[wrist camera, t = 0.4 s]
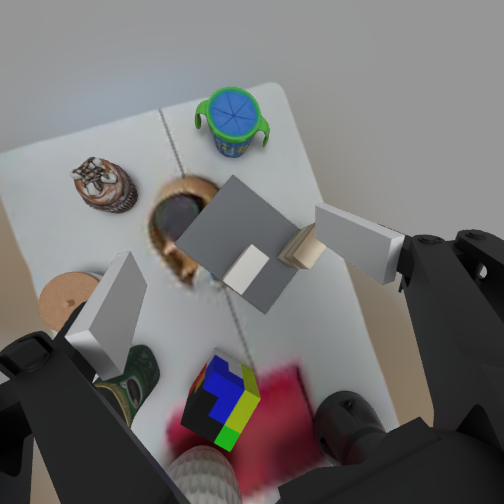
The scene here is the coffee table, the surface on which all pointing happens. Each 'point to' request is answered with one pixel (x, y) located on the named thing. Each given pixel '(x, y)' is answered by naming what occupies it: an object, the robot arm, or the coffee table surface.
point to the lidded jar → (65, 296)
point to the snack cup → (232, 119)
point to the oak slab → (301, 249)
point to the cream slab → (245, 269)
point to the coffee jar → (131, 384)
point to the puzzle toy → (221, 400)
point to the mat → (241, 240)
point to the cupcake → (104, 186)
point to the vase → (205, 477)
